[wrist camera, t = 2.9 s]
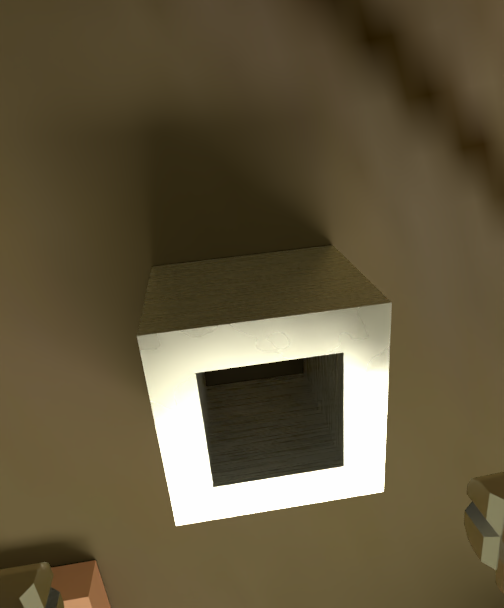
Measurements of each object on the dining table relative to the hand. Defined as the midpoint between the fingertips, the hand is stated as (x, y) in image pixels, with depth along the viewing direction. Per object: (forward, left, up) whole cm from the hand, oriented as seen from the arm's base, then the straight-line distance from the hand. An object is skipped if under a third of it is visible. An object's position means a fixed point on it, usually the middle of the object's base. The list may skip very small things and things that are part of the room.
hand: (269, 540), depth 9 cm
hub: (-1, -1, -7) cm, 7 cm away
